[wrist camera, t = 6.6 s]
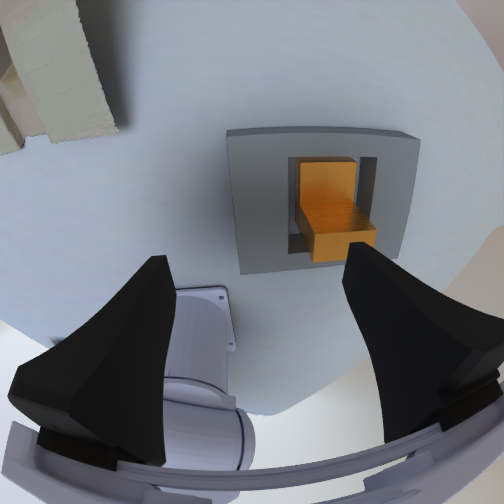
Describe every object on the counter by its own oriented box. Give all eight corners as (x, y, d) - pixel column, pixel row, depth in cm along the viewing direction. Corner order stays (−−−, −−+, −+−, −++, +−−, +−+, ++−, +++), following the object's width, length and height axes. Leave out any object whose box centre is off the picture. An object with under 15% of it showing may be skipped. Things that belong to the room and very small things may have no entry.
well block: (385, 242, 22) (397, 258, 20) (239, 255, 22) (240, 274, 20) (401, 131, 17) (420, 139, 15) (227, 130, 17) (226, 137, 14)
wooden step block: (343, 216, 21) (371, 256, 16) (295, 219, 21) (312, 262, 16) (348, 156, 18) (384, 183, 14) (295, 156, 18) (317, 184, 13)
